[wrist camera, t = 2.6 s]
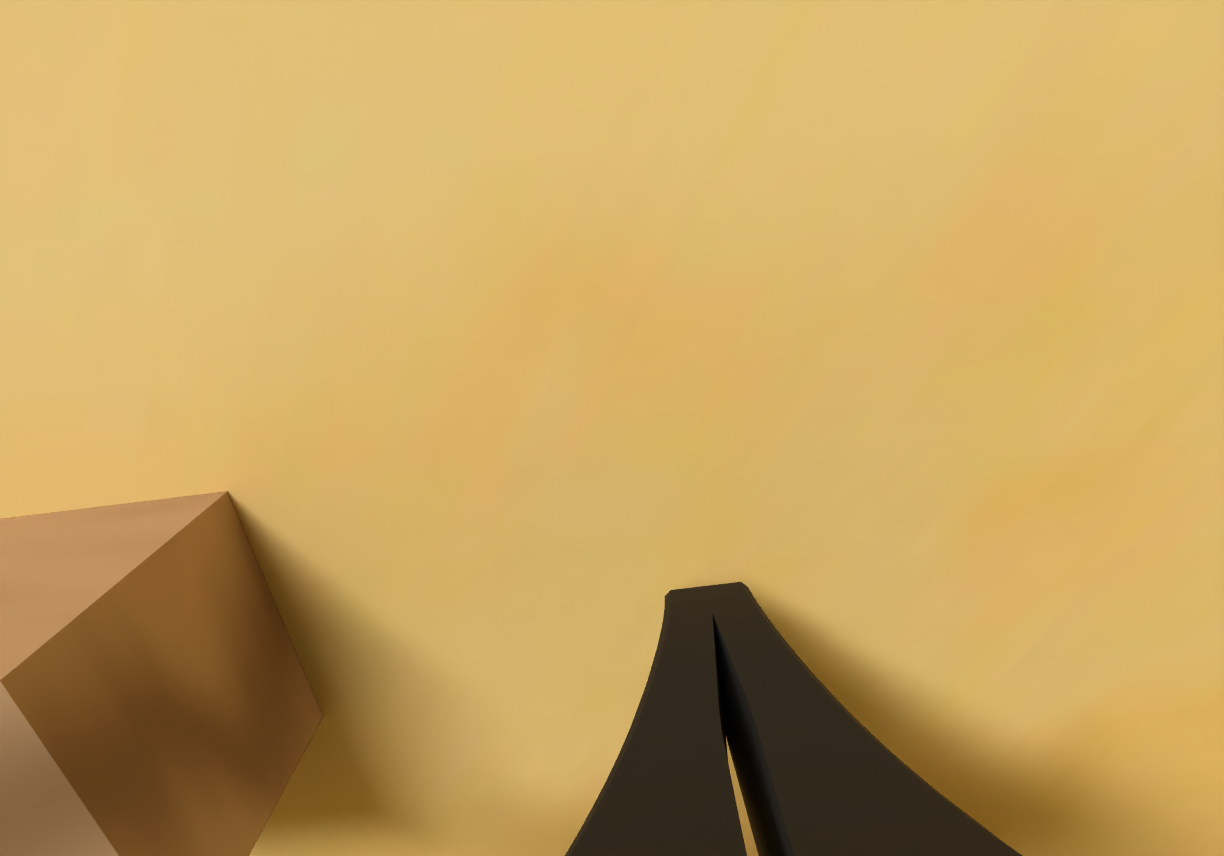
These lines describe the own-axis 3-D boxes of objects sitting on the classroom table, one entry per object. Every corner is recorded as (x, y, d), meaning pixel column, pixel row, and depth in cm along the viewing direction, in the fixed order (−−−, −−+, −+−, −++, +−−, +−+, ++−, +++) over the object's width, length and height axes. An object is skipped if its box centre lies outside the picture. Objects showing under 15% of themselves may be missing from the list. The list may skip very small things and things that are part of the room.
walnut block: (325, 711, 15) (191, 962, 10) (86, 735, 15) (-149, 987, 10) (230, 488, 12) (0, 680, 8) (-49, 522, 13) (-430, 725, 8)
